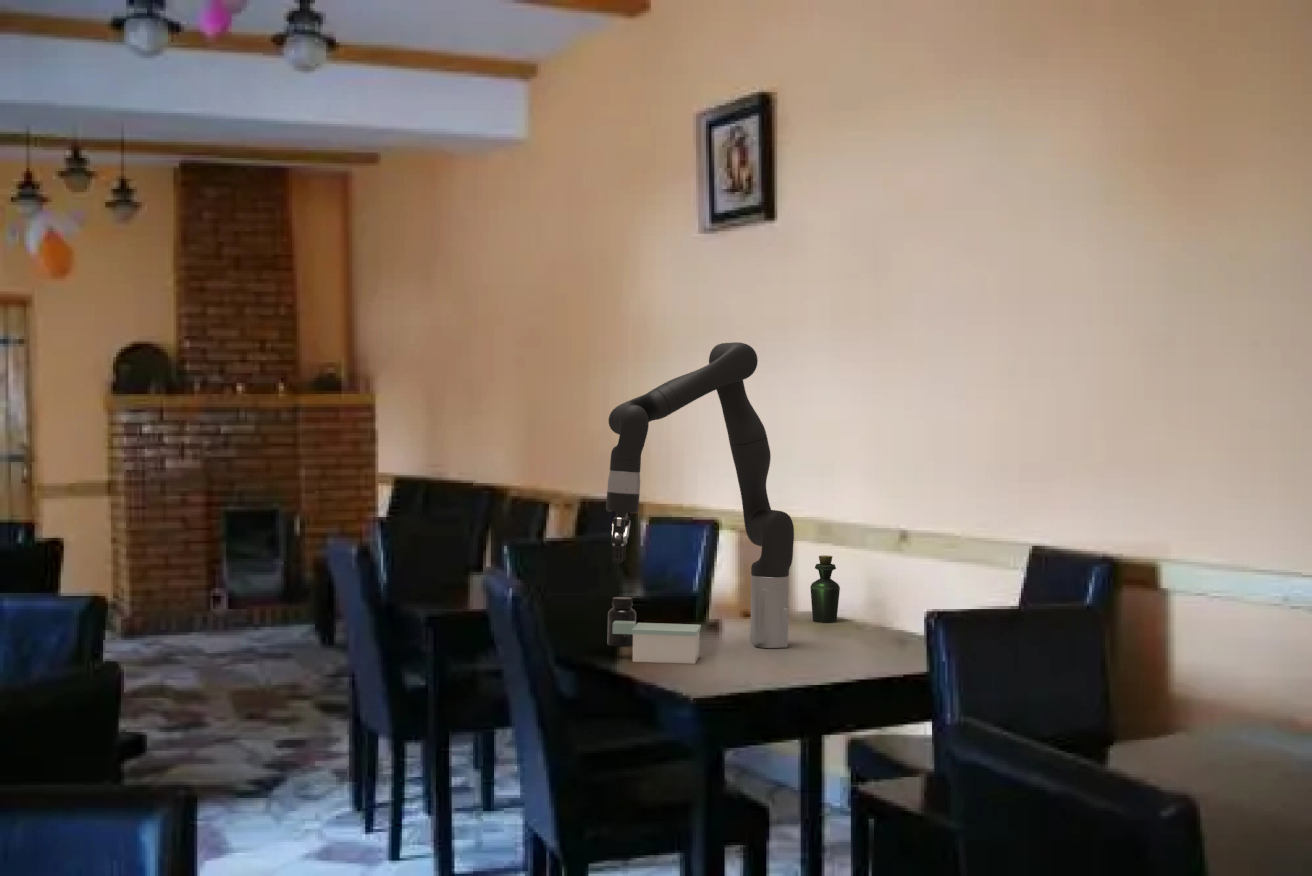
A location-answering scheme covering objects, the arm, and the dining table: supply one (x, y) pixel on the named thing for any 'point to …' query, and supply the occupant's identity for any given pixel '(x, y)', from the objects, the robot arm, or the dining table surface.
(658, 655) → the tub
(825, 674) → the dining table surface
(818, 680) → the dining table surface
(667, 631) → the lid
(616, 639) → the supplement bottle
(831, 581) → the potion bottle
